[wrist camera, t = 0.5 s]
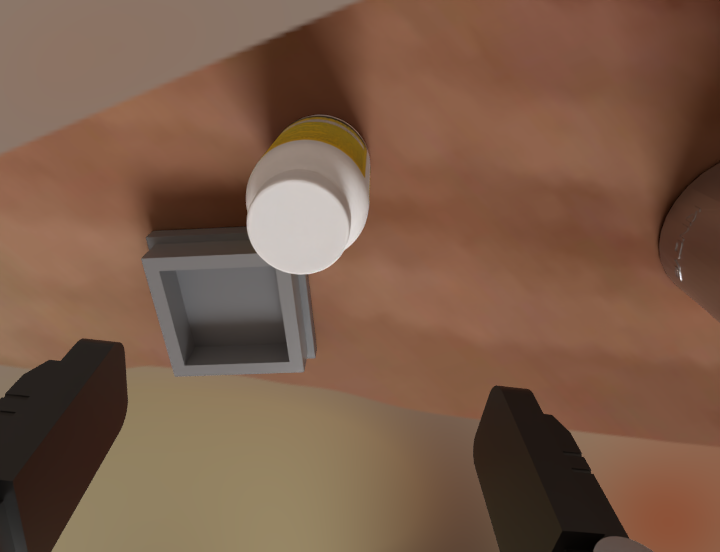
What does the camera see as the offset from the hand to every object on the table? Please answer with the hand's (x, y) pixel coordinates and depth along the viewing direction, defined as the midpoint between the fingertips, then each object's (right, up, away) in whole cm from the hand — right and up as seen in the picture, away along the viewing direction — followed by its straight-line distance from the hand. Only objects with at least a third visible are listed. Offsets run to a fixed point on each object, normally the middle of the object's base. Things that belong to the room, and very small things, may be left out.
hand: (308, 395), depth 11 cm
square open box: (-7, +2, +20) cm, 22 cm away
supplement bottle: (-1, +9, +17) cm, 19 cm away
